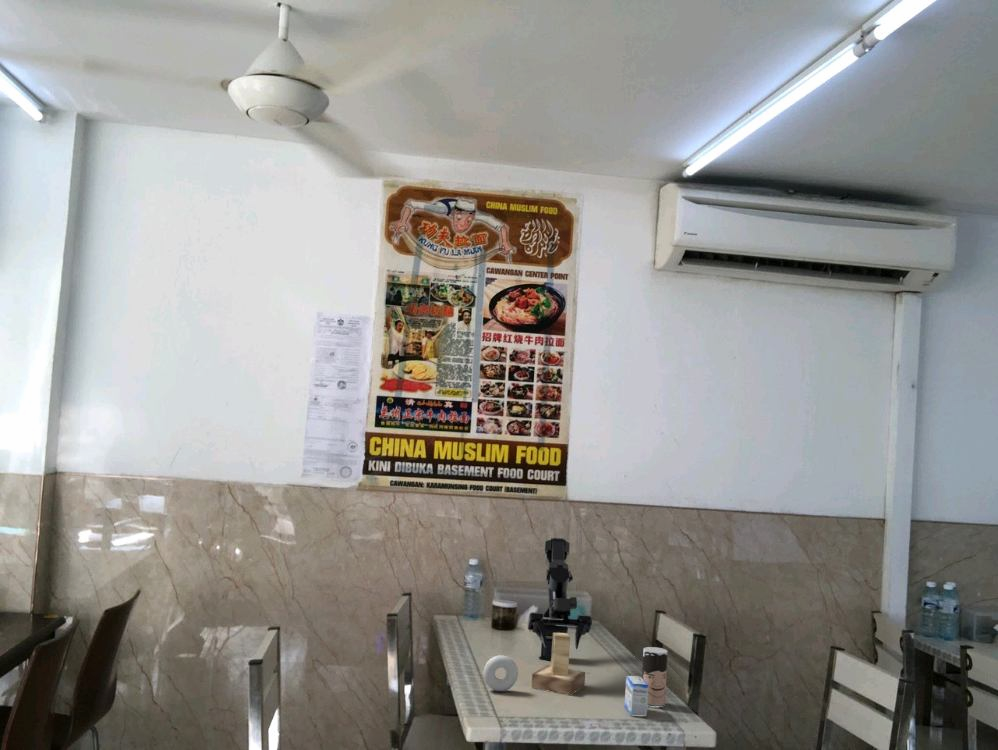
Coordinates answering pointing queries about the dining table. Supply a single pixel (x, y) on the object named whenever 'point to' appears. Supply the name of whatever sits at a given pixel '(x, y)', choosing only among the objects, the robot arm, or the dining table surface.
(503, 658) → the donut
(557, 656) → the oak block
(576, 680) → the plinth
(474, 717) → the dining table surface
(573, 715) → the dining table surface
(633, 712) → the medicine box
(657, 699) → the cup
